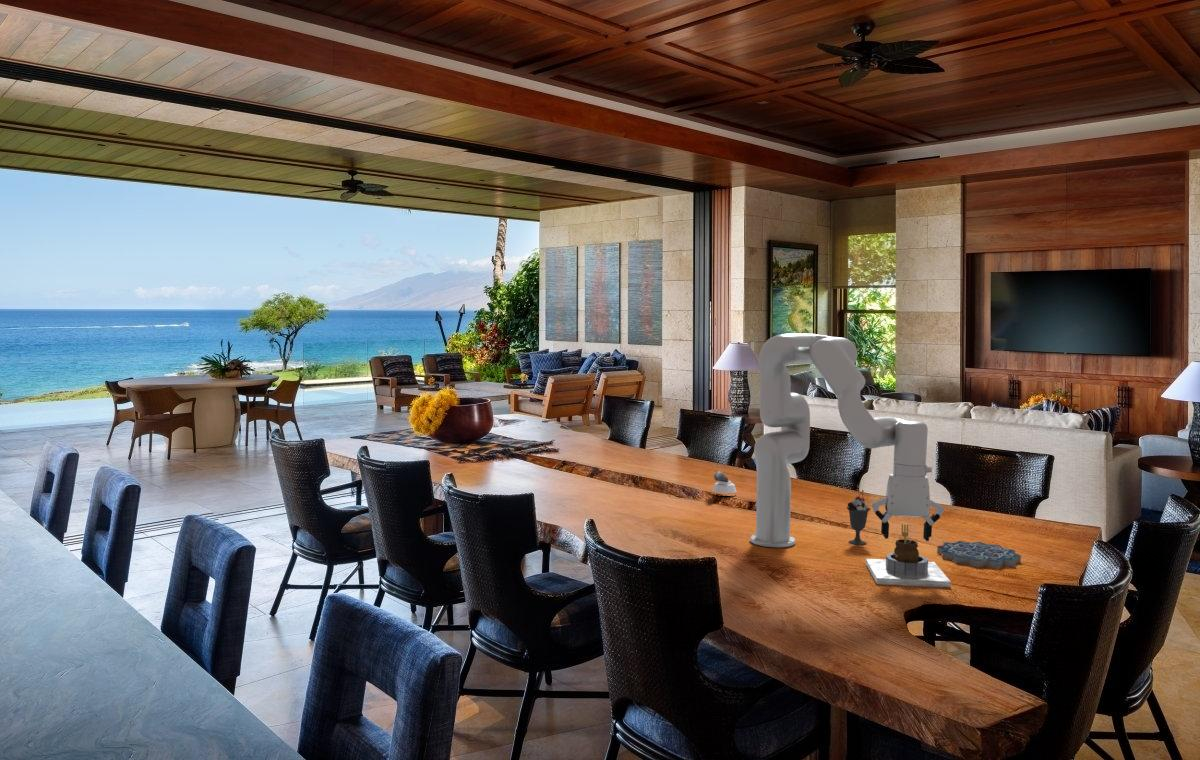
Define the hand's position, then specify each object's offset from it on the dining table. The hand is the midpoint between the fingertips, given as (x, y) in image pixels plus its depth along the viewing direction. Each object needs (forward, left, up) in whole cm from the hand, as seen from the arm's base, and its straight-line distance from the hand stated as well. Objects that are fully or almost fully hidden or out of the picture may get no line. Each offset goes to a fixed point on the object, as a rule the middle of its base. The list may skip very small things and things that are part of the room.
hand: (905, 538), depth 212 cm
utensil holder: (0, 0, -8) cm, 8 cm away
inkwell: (-88, -46, -10) cm, 99 cm away
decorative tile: (-20, +23, -10) cm, 32 cm away
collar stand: (0, 0, -9) cm, 9 cm away
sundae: (-30, -7, -10) cm, 32 cm away
